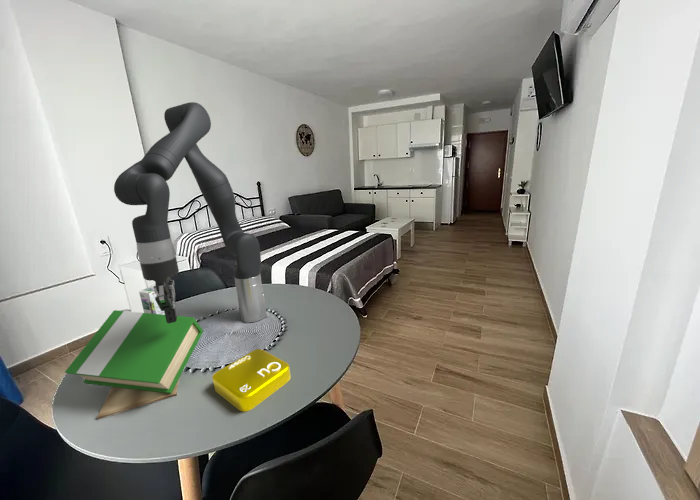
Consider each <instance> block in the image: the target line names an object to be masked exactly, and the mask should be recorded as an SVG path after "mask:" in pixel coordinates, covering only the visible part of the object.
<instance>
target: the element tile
mask: <svg viewBox="0 0 700 500" xmlns="http://www.w3.org/2000/svg"><path fill="white" fill-rule="evenodd" d="M211 377H212V383H213V387H214V391H215V392H216V393H217V394H218V395H219V396H221V397H223V399H224V400H225V401H226V402H228V403H229V404H231V405H232V406H234V408H236V410H238V411H240V412H243V413H245V412H250V411H251V410H253V409H255V408H256V407H257V406H258V405H259V404H261V403H262V402H264V401H265V400H266V399H267V398H269V397H270V396H271V395H273V394H274V393H276V392H277V391H278V390H279V389H280V388H282V387H283V386H284V385H287V383H288V382H290V380H291V378H292V376H291V370H290V365H289V363H288V362H286V361H284V360H283V359H280V358H279V357H278V356H277V357H276V356H275V355H273V354H271V353H269V352H268V351H265V350H264V349H260V348H256V349H254V350H252V351H250V352H248V353H247V354H245V355H242V356H241V357H240V358H238V359H236V360H235V361H233V362H231V363H230V364H228V365H225V366H224V367H222V368H221V369H219V370H217V371H216V372H214V373H213V374H212V376H211Z"/></svg>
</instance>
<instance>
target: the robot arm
mask: <svg viewBox="0 0 700 500" xmlns="http://www.w3.org/2000/svg"><path fill="white" fill-rule="evenodd" d="M163 114H164V117H163V118H164V122H165V125H166V127H167V129H168V133H167V134H166V135H164V136H163V137H161V138H159V140H158V141H156V142H155V143H154V144H153V145H152V146H150V148H149V149H148V151H147V152H146V153H145V154H144V156H143V157H142V159H141V160H139V161H137V162H136V163H134V164H132V165H131V166H129V167H128V168H127V169H126V170H124V171H123V172H121V173H120V174H119V175H118V176H117V178H116V179H115V182H114V185H113V192H114V195H115V198H116V199H118V201H119V202H121V203H122V204H125V205H128V206H146V210H145V213H144V214H143V215H138V216H136V217H133V219H132V221H131V224H132V230H133V235H134V238H135V243H136V251H137V257H138V260H139V264H140V269H141V272H142V278H143V280H146V281H153V282H155V283H154V284H155V285H153V286H154V292H155V293H156V295H157V297H155V300H156V302H157V304H158V306H159V308H160V309H161V311H164V313H165V317H166V321H167V323H173V322H176V321H177V316H178V315H177V311H176V292H175V280H174V279H171V278H173V277H175V276H177V275H178V274H179V272H180V271H179V265H178V264H179V263H178V260H177V256H176V251H175V247H174V243H173V241H172V238H171V232H170V229H169V224H168V219H169V206H170V195H171V194H170V193H171V192H170V188H169V184H168V182H167V181H169V180H171V178H172V177H173V175H174V174H175V173H176V171H177V169H178V168H179V166H180V164H181V162H182V161H183V160H184V159H185V161H186V163H187V165H188V167H189V168H190V170H191V173H192V174H193V176H194V179H195V181H196V183H197V186H198V188H199V190H200V193H201V194H202V196H203V199H204V201H205V203H206V205H207V207H208V208H209V210H210V213H211V215H212V217H213V219H214V221H215V223H216V224H217V227H218V230H219V233H220V236H221V238H222V241H223V244H224V247H225V249H226V251H227V253H228V254H230V255H232V256H233V257H235V258H236V267H234V269H233V271H232V272H233V278H234V283H235V290H236V297H237V302H238V307H239V315H240V320H241V321H242V322H243V323H254V322H259V321H260V320H263V319H265V318H267V317H268V315H267V307H266V300H265V294H264V289H263V284H262V276H261V275H262V274H261V267H262V257H261V248H260V242H259V240H258V238H257V237H256V235H254V234H252V233H249V232H244V230H243V229H242V227H241V224H240V222H239V221H238V218H237V214H236V198H235V194H234V190H233V188H232V186H231V183H230V181H229V179H228V177H227V175H226V174H225V172H224V171H222V170H221V168H219V167H218V166H217V165H216V164H215V163H213V162H212V161H211V160H209V158H208V157H206V156H205V155H204V153H203V152H202V151H201V149H200V148H199V146H198V142H199V141H200V140H201V139H202V138H204V137H205V136H206V135H207V134H208V133H209V132H210V130H211V127H212V121H211V117H210V114H209V113H208V111H207V109H205V107H204V106H203V105H202V104H200V103H198V102H196V101H195V102H193V101H191V102H186V103H182V104H179V105H175V106H171V107H169V108H167V109H165V111H164V113H163ZM264 317H265V318H264Z"/></svg>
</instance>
